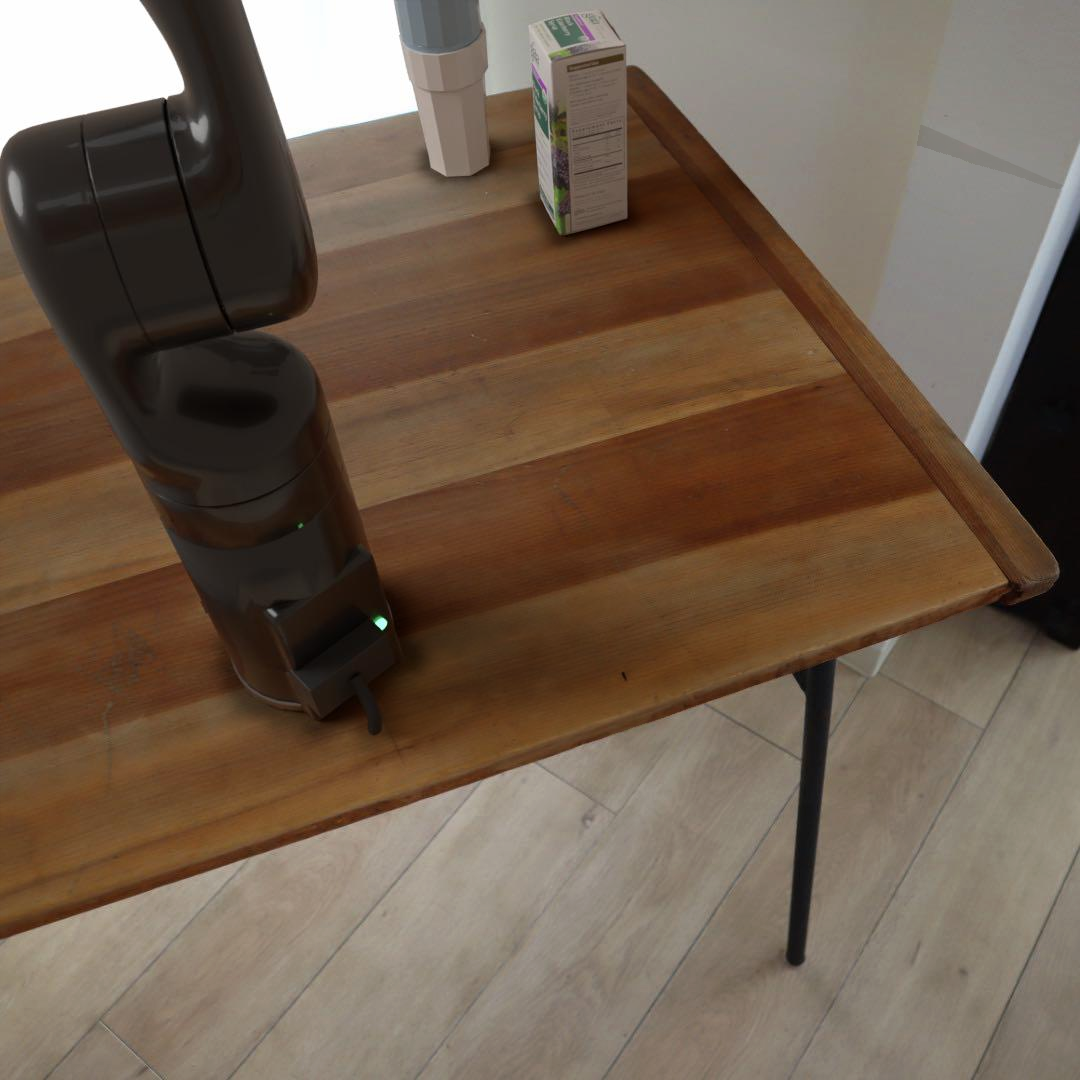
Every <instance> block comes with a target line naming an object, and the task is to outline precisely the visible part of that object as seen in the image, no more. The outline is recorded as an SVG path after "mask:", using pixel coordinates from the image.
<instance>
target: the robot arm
mask: <svg viewBox="0 0 1080 1080" xmlns="http://www.w3.org/2000/svg"><path fill="white" fill-rule="evenodd" d="M138 1H139V2H140V4H141V5H142V7H143V8H144V10H145V11H146V13H147V14H148V16H149V18H151V21H152V22H153V24H154V26H155V27H156V28H157V29H158V31H159V33H160V35H161V37H162V38H163V40H164V41H165V43H166V46H167V47H168V49H169V51H170V53H171V55H172V57H173V59H174V61H175V63H176V65H177V68H178V71H179V73H180V75H181V78H182V81H183V90H182V91H181V92H179V93H177V94H171V95H168V96H167V98H166V97H164V96H163V97H158V98H153V99H149V100H148V99H147V100H143V101H139V102H134V103H130V104H125V105H120V106H115V107H111V108H107V109H101V110H96V111H91V112H88V113H84V114H78V115H74V116H69V117H65V118H60V119H55V120H51V121H47V122H43V123H39V124H35V125H32V126H28V127H26V128H24V129H21V130H18V131H17V132H16V133H15V134H13V135H12V136H11V137H9V138H8V140H7V141H6V143H5V145H4V146H3V148H2V150H1V152H0V212H1V216H2V220H3V223H4V227H5V230H6V233H7V236H8V239H9V242H10V245H11V247H12V250H13V252H14V255H15V257H16V259H17V261H18V263H19V267H20V269H21V270H22V273H23V275H24V277H25V280H26V282H27V284H28V286H29V288H30V291H32V293H33V295H34V297H35V299H36V300H37V303H38V305H39V307H40V308H41V309H42V312H43V314H44V315H45V318H46V319H47V321H48V322H49V324H50V325H51V327H52V329H53V331H54V333H55V335H57V338H58V339H59V341H60V342H61V344H62V346H63V348H64V349H65V350H66V352H67V354H68V355H69V357H70V359H71V361H72V362H73V364H74V365H75V367H76V369H77V370H78V372H79V373H80V375H81V377H82V378H83V380H84V381H85V383H86V385H87V387H88V388H89V390H90V392H91V394H92V395H93V397H94V399H95V400H96V402H97V404H98V406H99V407H100V410H101V411H102V413H103V415H104V417H105V419H106V421H107V423H108V425H109V427H110V428H111V431H112V433H113V434H114V436H115V438H116V440H117V442H118V443H119V445H120V446H121V449H122V450H123V451H124V452H125V454H126V455H127V456H128V458H129V459H130V460H131V462H132V465H133V467H134V469H135V470H136V473H137V476H138V477H139V479H140V481H141V483H142V485H143V487H144V489H145V491H146V493H147V495H148V497H149V500H150V501H151V503H152V504H153V507H154V509H155V511H156V513H157V515H158V517H159V519H160V521H161V524H162V526H163V527H164V529H165V531H166V534H167V535H168V537H169V539H170V542H171V544H172V546H173V547H174V549H175V551H176V553H177V555H178V557H179V559H180V561H181V563H182V565H183V567H184V570H185V571H186V573H187V576H188V577H189V578H190V581H191V583H192V586H193V587H194V589H195V592H196V593H197V595H198V597H199V599H200V604H201V607H202V608H203V610H204V612H205V614H206V615H208V617H209V619H210V621H211V623H212V625H213V627H214V629H215V631H216V633H217V635H218V637H219V638H220V640H221V642H222V644H223V646H224V648H225V650H226V651H227V654H228V655H229V657H230V661H231V665H232V667H233V670H234V672H235V674H236V676H237V678H238V679H239V682H240V683H241V685H242V686H243V687H244V689H245V690H246V691H247V692H248V693H249V694H250V695H251V696H253V697H254V698H255V699H257V700H259V701H260V702H262V703H264V704H266V705H268V706H271V707H274V708H277V709H281V710H287V711H298V712H300V711H301V712H304V713H306V714H308V716H309V717H310V718H312V720H314V721H316V722H319V721H321V720H322V719H324V718H325V717H327V716H328V715H330V713H332V712H333V711H334V710H336V709H337V708H338V707H340V706H341V705H343V704H344V703H345V702H346V701H348V700H349V699H350V698H352V697H353V696H357V698H358V699H359V701H360V703H361V705H362V707H363V709H364V712H365V715H366V719H367V732H368V733H369V735H372V736H378V735H379V734H380V733H382V727H383V726H382V721H383V716H382V713H381V710H380V707H379V704H378V701H377V700H376V698H375V696H374V694H373V693H372V691H371V689H370V687H369V685H370V684H371V682H373V681H374V680H375V679H376V678H378V677H379V676H380V675H382V674H384V673H385V672H386V671H387V670H388V669H390V668H391V667H392V666H394V665H395V664H396V663H398V662H399V661H400V660H401V659H402V658H403V651H402V648H401V645H400V641H399V637H398V634H397V631H396V628H395V622H394V617H393V613H392V610H391V607H390V604H389V602H388V600H387V597H386V594H385V591H384V587H383V584H382V580H381V577H380V573H379V571H378V568H377V564H376V561H375V557H374V555H373V553H372V550H371V547H370V544H369V540H368V536H367V533H366V531H365V526H364V524H363V521H362V518H361V517H362V516H361V514H360V511H359V507H358V503H357V501H356V498H355V497H356V496H355V493H354V490H353V487H352V484H351V480H350V477H349V473H348V470H347V467H346V464H345V460H344V456H343V453H342V449H341V446H340V442H339V439H338V435H337V431H336V429H335V426H334V423H333V418H332V416H331V413H330V409H329V406H328V403H327V402H328V401H327V399H326V396H325V392H324V389H323V385H322V382H321V379H320V376H319V375H318V372H317V370H316V368H315V367H314V365H313V364H312V362H311V361H310V360H309V358H308V357H307V355H306V354H305V353H304V352H303V351H302V350H301V349H300V348H298V347H297V346H296V345H295V344H293V343H292V342H290V341H289V340H287V339H285V338H283V337H281V336H279V335H276V334H275V333H271V332H270V331H266V330H261V329H262V328H265V327H269V326H273V325H277V324H281V323H284V322H288V321H290V320H293V319H296V318H298V317H301V316H303V315H304V314H305V313H307V312H308V310H309V309H311V307H312V305H313V303H314V302H315V299H316V296H317V292H318V284H319V264H318V254H317V249H316V248H317V247H316V243H315V237H314V232H313V227H312V223H311V219H310V213H309V210H308V206H307V202H306V199H305V195H304V191H303V188H302V185H301V181H300V178H299V174H298V170H297V167H296V165H295V161H294V159H293V155H292V151H291V149H290V146H289V141H288V139H287V136H286V133H285V130H284V127H283V123H282V121H281V118H280V115H279V111H278V108H277V106H276V102H275V99H274V96H273V93H272V89H271V87H270V84H269V81H268V77H267V74H266V71H265V69H264V65H263V62H262V58H261V56H260V53H259V49H258V46H257V44H256V40H255V37H254V34H253V31H252V28H251V26H250V22H249V18H248V16H247V12H246V10H245V6H244V2H243V0H138Z"/></svg>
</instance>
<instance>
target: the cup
mask: <svg viewBox="0 0 1080 1080" xmlns="http://www.w3.org/2000/svg"><path fill="white" fill-rule="evenodd" d="M486 30H487V29H486V27H485V24H484V22H483V21H482V20H481V33H480V35H479V36H478V38H477V39H476V40H475V41H473V42H472V43H471V44H469V45H467V46H465V47H463V48H460V49H457V50H454V51H450V52H444V53H423V52H418V51H415V50H412V49H410V48H408V47H407V46H406V45H405V44H404V43H403V42H402V40H401V34H400V33H399V34H398V37H399V41H400V46H401V51H402V55H403V59H404V65H405V69H406V74H407V76H408V81H410V83H411V86H412V89H413V94H414V98H415V103H416V107H417V111H418V117H419V120H420V124H421V127H422V128H421V129H422V133H423V137H424V141H425V145H426V150H427V155H428V160H429V165H430V168H431V169H432V170H434V171H436V172H438V173H439V174H441V175H442V176H444V177H445V178H449V177H450V178H451V177H470V176H472V175H474V174H476V173H478V172H479V171H481V170H483V169H484V168H486V167H488V166H490V158H491V157H490V156H491V146H490V145H491V144H490V133H489V118H488V105H487V102H488V101H487V88H486V87H487V86H486V72H487V70H488V69H489V58H488V56H489V55H488V45H487V44H488V43H487V31H486Z"/></svg>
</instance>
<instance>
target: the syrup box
mask: <svg viewBox="0 0 1080 1080" xmlns="http://www.w3.org/2000/svg"><path fill="white" fill-rule="evenodd" d="M528 39H529V40H528V41H529V53H530V67H531V68H530V69H531V81H532V82H531V84H532V101H533V103H532V104H533V116H534V130H535V131H534V132H535V143H536V144H535V145H536V159H537V160H536V161H537V173H538V182H539V183H538V184H539V197H540V200H541V202H542V203H543V205H544V207H545V210H546V212H547V214H548V216H549V217H550V219H551V221H552V223H553V226H554V227H555V228H556V231H557V232H558V234H559V235H560V236H566V235H571V234H574V233H579V232H581V231H586V230H590V229H594V228H598V227H601V226H605V225H608V224H613V223H615V222H619V221H624V220H627V219H628V207H629V206H628V85H627V84H628V81H627V79H628V78H627V76H628V75H627V44H626V43H625V41H624V40H622V38H621V36H620V35H619V33H618V32H617V29H615V27H614V26H613V24H612V23H611V22H610V20H609V19H608V18H607V16H606V15H605V14H604V12H603V11H602V10H600V9H597V10H587V11H577V12H569V13H565V14H560V15H557V16H552V17H548V18H545V19H542V20H539V21H536V22H534V23H530V24H529V25H528Z"/></svg>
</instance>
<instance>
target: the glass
mask: <svg viewBox="0 0 1080 1080" xmlns="http://www.w3.org/2000/svg"><path fill="white" fill-rule="evenodd" d="M393 4H394V10H395V15H396V21H397V26H398V32H399V35H400V34H401V40H402V42H403V43H404V44H405V45H406V46H407V47H408V48H410V49H412V50H415V51H418V52H423V53H444V52H450V51H454V50H457V49H460V48H463V47H465V46H467V45H469V44H471V43H472V42H473V41H475V40H476V39H477V38H478V36H479V35H480V33H481V21H482V15H481V7H480V6H481V5H480V0H393Z"/></svg>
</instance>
